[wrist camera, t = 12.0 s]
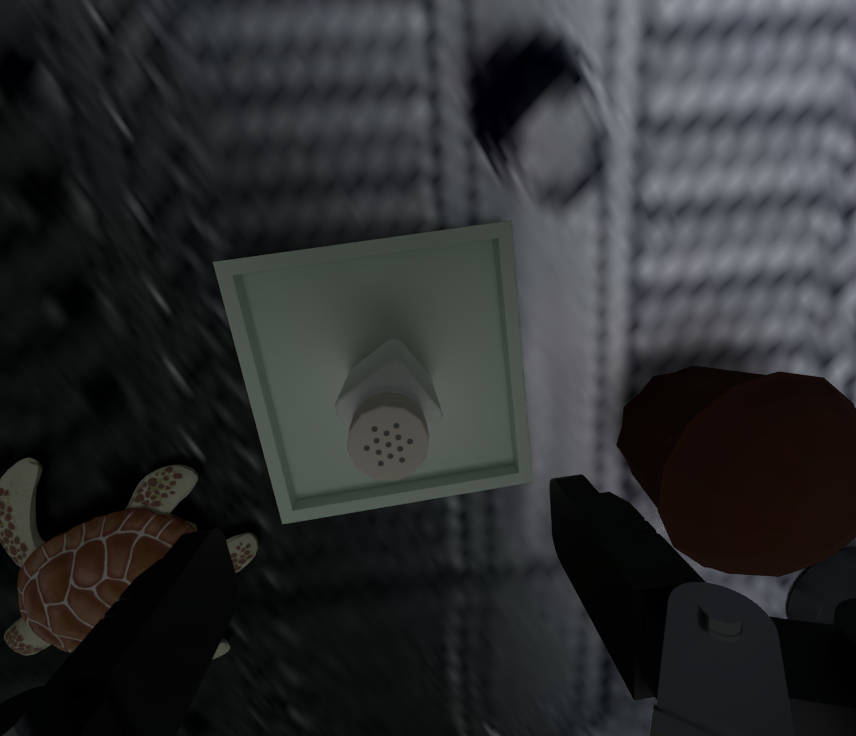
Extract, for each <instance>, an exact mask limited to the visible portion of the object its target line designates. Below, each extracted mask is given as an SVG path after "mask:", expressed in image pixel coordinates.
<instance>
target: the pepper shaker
mask: <svg viewBox="0 0 856 736" xmlns="http://www.w3.org/2000/svg"><path fill="white" fill-rule="evenodd" d="M335 409H336V412H337V416H338V417H339V419H340V420H341V421H342V422H343V424H344V425H345V426H346V427H347V429H348V430H349V435H348V446H347V451H348V453H349V455H350V457H351V459H352V461H353V463H354V465H355V466H356V468H357V469H358V470H360V471H362V472H363V473H365V474H366V475H368V476H370V477H371V478H373V479H377V480H391V481H395V480H398V479H400V478H403V477H405V476H407V475H410V474H412V473H414V472H415V471H416V470H417V468H418V467H419V466H420V465H421V463H422V462H423V461H424V460H425V459H426V457H427V452H428V445H429V438H430V437H429V433H430V432H431V431H432V430H434V429H435V428H436V427H437V426H438V425H439V423H440V421H441V419H442V417H443V414H442V410H441V407H440V404H439V401H438V398H437V394H436V391H435V388H434V385H433V382H432V379H431V377H430V376H429V375H428V373H427V372H426V371H425V370H424V369H423V367H422V366H421V365H420V364H419V362H418V361H417V360H416V359H415V357H414V356H413V355H412V354H411V352H410V351H409V350H408V349H407V348H406V346H405V345H404V344H403V343H402V342H401V341H399V340H397V339H392V340H388V341H387V342H385V343H384V344H383V345H381V346H380V347H379V348H378V349H376V350H375V351H374V352H372V353H371V354H370V355H369V356H367V357H366V358H365V359H364V360H362V361H361V362H360V363H358V364H357V365H356V366H355V367H353V368H352V369H351V370H350V372H349V374H348V375H347V377H346V380H345V382H344V385H343V387H342V389H341V392H340V394H339V396H338V399H337V401H336V404H335Z"/></svg>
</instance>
